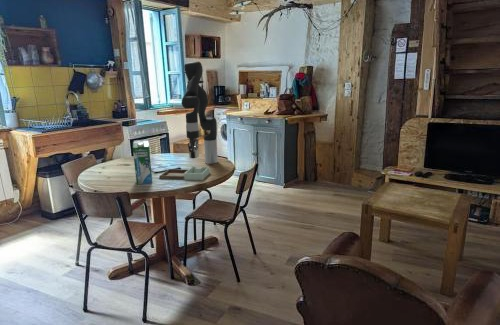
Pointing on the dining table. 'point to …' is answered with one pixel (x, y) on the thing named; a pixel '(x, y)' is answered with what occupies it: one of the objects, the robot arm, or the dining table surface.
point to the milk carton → (142, 162)
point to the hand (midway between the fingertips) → (194, 157)
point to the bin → (196, 174)
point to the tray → (173, 174)
